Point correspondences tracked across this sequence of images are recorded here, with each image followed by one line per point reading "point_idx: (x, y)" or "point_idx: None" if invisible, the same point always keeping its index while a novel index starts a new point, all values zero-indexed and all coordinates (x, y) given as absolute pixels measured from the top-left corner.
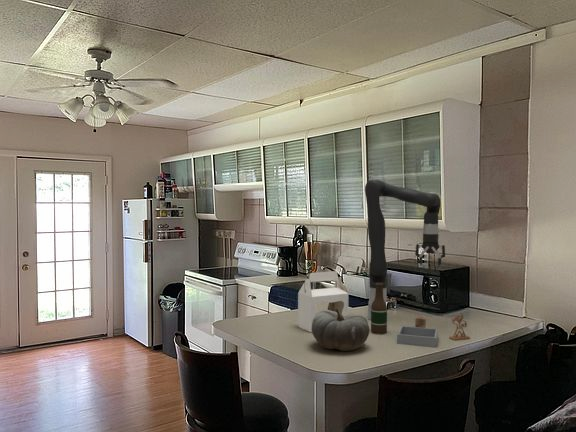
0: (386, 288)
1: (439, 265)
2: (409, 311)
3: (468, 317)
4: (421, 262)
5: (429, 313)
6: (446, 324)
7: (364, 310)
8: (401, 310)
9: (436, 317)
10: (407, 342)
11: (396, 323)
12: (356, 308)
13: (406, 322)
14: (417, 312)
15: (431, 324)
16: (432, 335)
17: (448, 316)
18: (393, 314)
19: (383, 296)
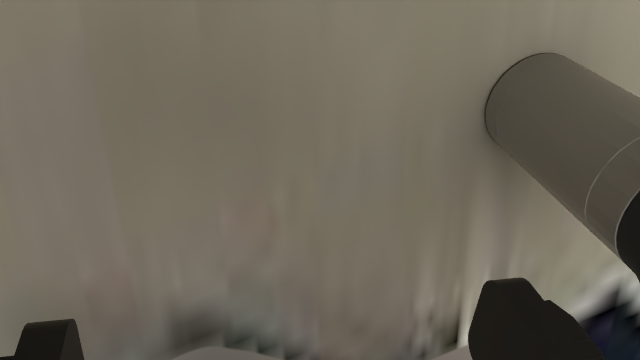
0: (613, 219)
1: (28, 330)
2: (350, 329)
3: (16, 343)
4: (527, 314)
5: (245, 334)
6: (110, 127)
7: (572, 257)
8: (390, 331)
9: (198, 270)
10: None
11: (430, 30)
12: (603, 278)
13: (367, 82)
14: (309, 327)
15: (207, 89)
16: None
17: (134, 318)
18: (434, 239)
19: (605, 141)
